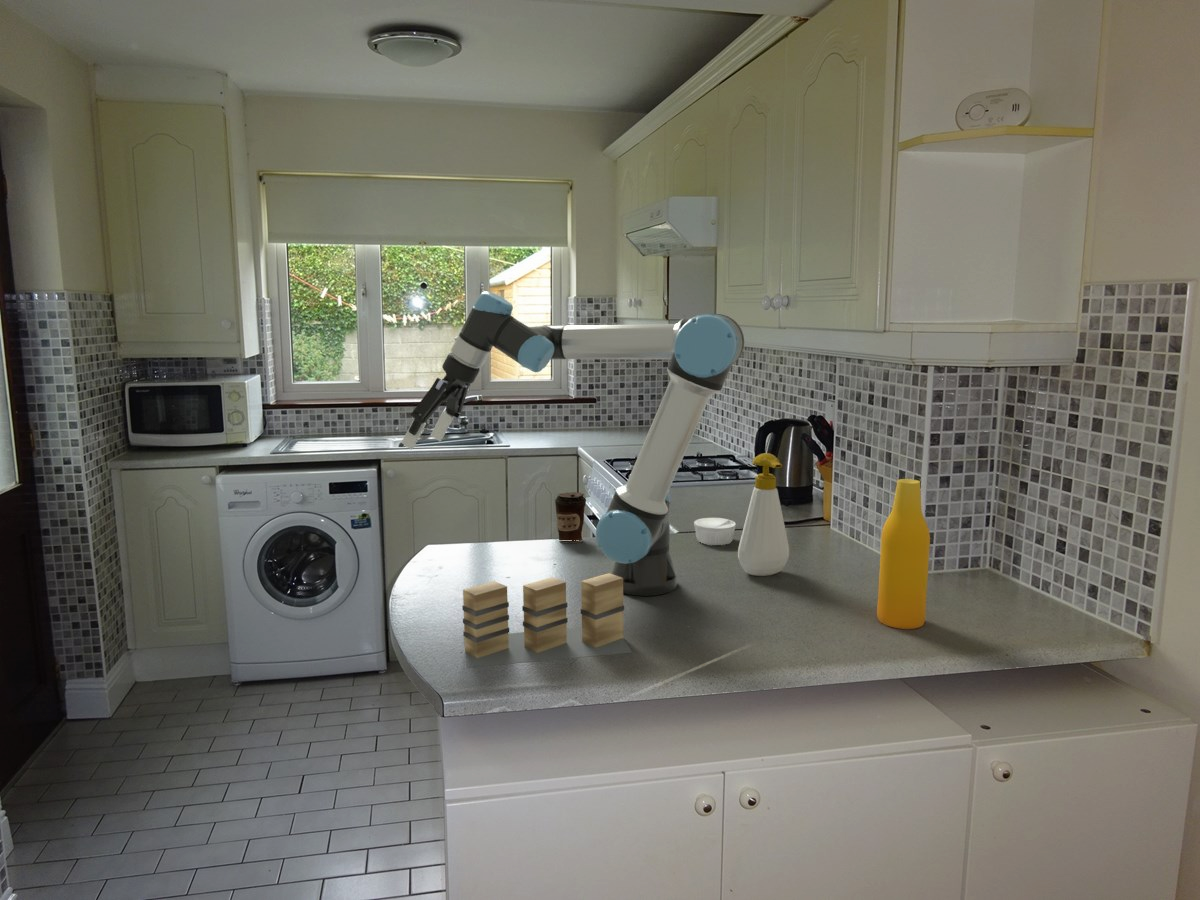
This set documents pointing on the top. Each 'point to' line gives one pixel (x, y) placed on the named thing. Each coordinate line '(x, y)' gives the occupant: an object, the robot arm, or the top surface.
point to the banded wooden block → (602, 609)
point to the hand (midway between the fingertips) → (421, 442)
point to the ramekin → (714, 531)
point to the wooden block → (544, 614)
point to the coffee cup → (570, 516)
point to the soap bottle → (764, 525)
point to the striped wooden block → (485, 619)
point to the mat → (564, 651)
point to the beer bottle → (904, 560)
